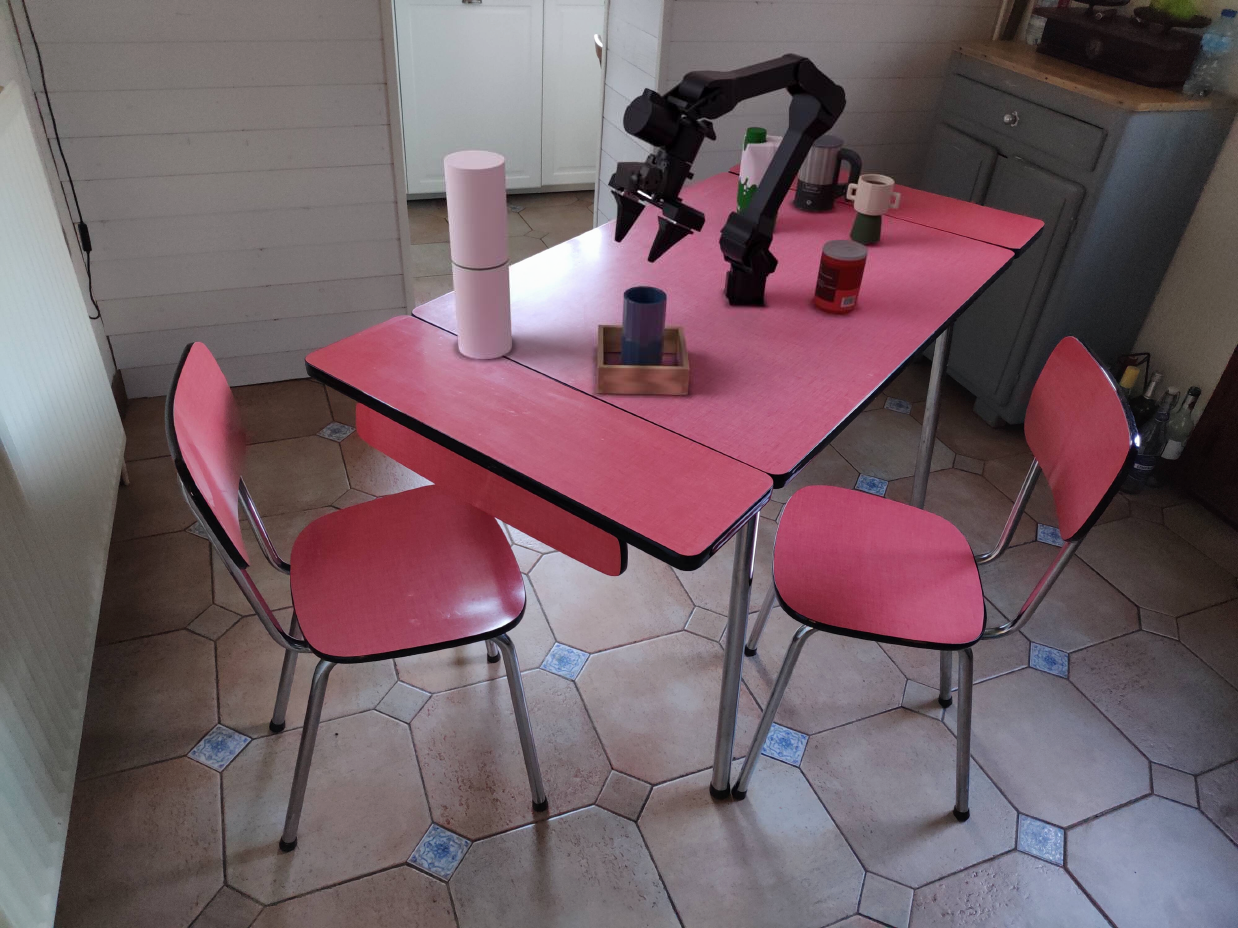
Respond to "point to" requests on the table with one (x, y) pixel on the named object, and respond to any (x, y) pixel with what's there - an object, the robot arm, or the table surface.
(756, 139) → the milk carton
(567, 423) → the table surface
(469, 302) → the container
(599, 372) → the crate
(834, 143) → the milk frother
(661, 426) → the table surface
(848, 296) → the canned food
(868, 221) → the character mug
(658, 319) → the tumbler
